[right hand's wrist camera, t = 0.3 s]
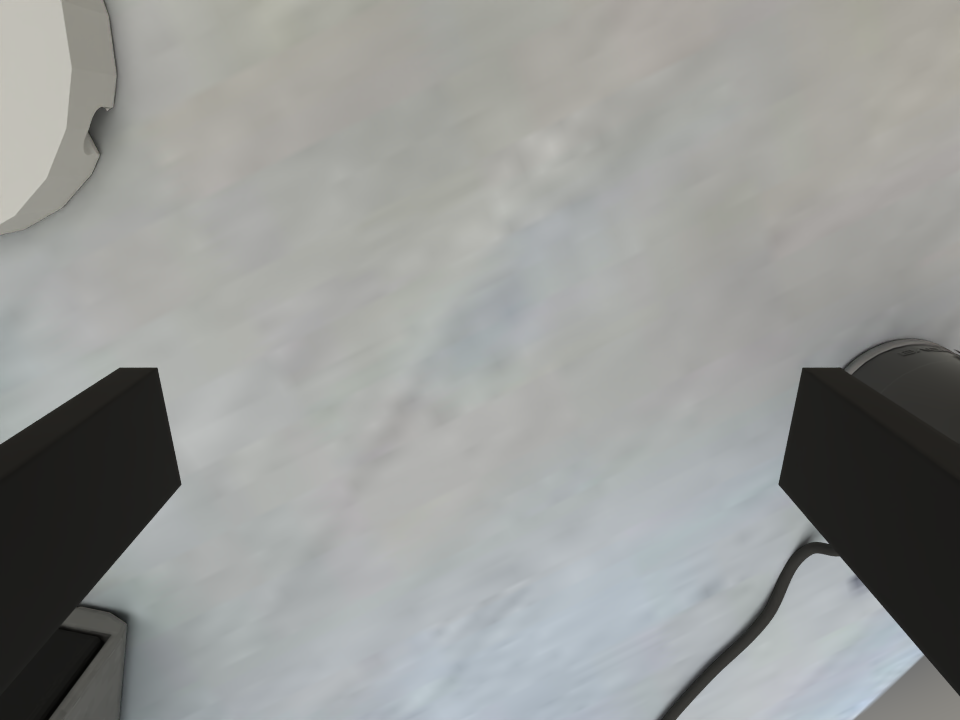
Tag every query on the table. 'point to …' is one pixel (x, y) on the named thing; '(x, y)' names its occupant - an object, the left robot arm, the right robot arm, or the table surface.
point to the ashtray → (50, 102)
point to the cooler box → (72, 672)
